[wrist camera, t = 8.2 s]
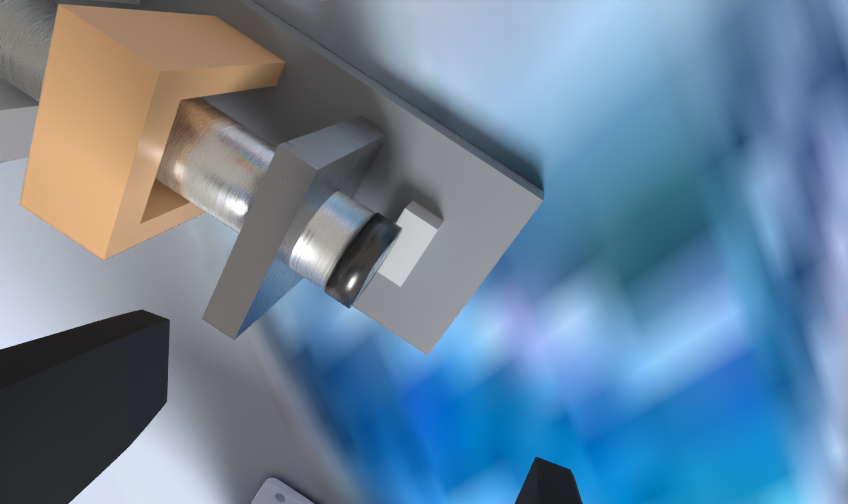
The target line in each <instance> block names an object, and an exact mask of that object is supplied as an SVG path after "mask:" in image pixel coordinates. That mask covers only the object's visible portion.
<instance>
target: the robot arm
mask: <svg viewBox="0 0 848 504" xmlns="http://www.w3.org/2000/svg"><path fill="white" fill-rule="evenodd" d="M169 326H170V320H169V319H166V318H163V317H161V316H158V315H155V314H153V313H150V312H147V311H145V310H138V311H134V312H130V313H126V314H122V315H118V316H114V317H111V318H107V319H104V320H100V321H97V322H93V323H90V324H86V325H83V326H80V327H76V328H73V329H70V330H66V331H63V332H59V333H56V334H53V335H49V336H46V337H42V338H39V339H35V340H32V341H28V342H25V343H22V344H18V345H15V346H11V347H8V348H4V349H1V350H0V504H68V503H70V502H71V501H72V500H73V499H74V498H75V497H76V496H77V495H78V494H79V493H80V492H81V491H82V490H84V489H85V488H86V487H87V486H88V485H89V484H90V483H91V482H92V481H93V480H94V479H95V478H96V477H98V476H99V475H100V474H101V473H102V472H103V471H104V470H105V469H106V468H107V467H108V466H109V465H110V464H111V463H112V462H113V461H115V460H116V459H117V458H118V457H119V456H120V455H121V454H122V453H123V452H124V451H125V450H126V449H127V448H128V447H129V446H130V445H131V444H132V443H133V442H134V440H135V439H136V438H137V437H138V436H139V435H140V434H141V432H142V431H143V430H144V429H145V428H146V427H147V425H148V424H149V423H150V422H151V421H152V419H153V418H154V417H155V416H156V414H157V413H158V412H159V411H160V410H161V408H162V407H163V406H164V405H165V403H166V402H167V386H168V356H169ZM251 504H314V503H313V502H311V501H310V500H308V499H307V498H305V497H304V496H302V495H301V494H299V493H298V492H296V491H295V490H293V489H292V488H290V487H289V486H287V485H286V484H284V483H283V482H281V481H280V480H278V479H276V478H268V479H267V480H266V481H265V482H264V484H263V485H262V487H261V488H260V490H259V491H258V493H257V494H256V496H255V498H254V499H253V501H252V502H251ZM515 504H583V503H582V500H581V497H580V494H579V491H578V488H577V484H576V481H575V478H574V476H573V474H572V472H571V470H570V469H567V468H565V467H562V466H559V465H557V464H554V463H551V462H549V461H546V460H543V459H541V458H538V457H535V460H534V462H533V464H532V466H531V469H530V471H529V473H528V475H527V477H526V480H525V482H524V484H523V486H522V489H521V491H520V493H519V495H518V497H517V500H516V502H515Z"/></svg>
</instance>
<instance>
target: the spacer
mask: <svg viewBox="0 0 848 504" xmlns="http://www.w3.org/2000/svg"><path fill="white" fill-rule="evenodd" d="M285 63H286V62H285V61H283V60H282V59H280V58H278V57H277V56H275V55H274V54H272V53H271V52H269V51H268V50H266V49H265V48H263V47H262V46H260V45H259V44H257V43H256V42H254V41H253V40H251V39H250V38H248V37H247V36H245V35H244V34H242V33H241V32H239V31H238V30H236V29H235V28H233V27H232V26H230V25H229V24H227V23H226V22H224V21H223V20H221V19H220V18H218V17H216V16H210V15H197V14H184V13H171V12H158V11H145V10H132V9H119V8H106V7H93V6H80V5H67V4H58V9H57V14H56V19H55V24H54V30H53V35H52V40H51V45H50V50H49V56H48V61H47V66H46V71H45V76H44V81H43V87H42V92H41V97H40V102H39V107H38V113H37V118H36V123H35V128H34V133H33V138H32V144H31V149H30V154H29V159H28V164H27V170H26V175H25V180H24V185H23V190H22V195H21V201H20V205H21V206H22V207H24V208H25V209H27V210H28V211H30V212H31V213H33V214H34V215H36V216H37V217H39V218H40V219H42V220H43V221H45V222H47V223H48V224H50V225H51V226H53V227H54V228H56V229H57V230H59V231H60V232H62V233H63V234H65V235H66V236H68V237H69V238H71V239H72V240H74V241H75V242H77V243H78V244H80V245H81V246H83V247H84V248H86V249H87V250H89V251H90V252H92V253H93V254H95V255H96V256H98V257H99V258H101V259H102V260H105V259H107V258H109V257H111V256H114V255H116V254H118V253H120V252H122V251H124V250H126V249H128V248H131V247H133V246H135V245H137V244H139V243H141V242H143V241H145V240H148V239H150V238H152V237H154V236H156V235H158V234H160V233H162V232H165V231H167V230H169V229H171V228H173V227H175V226H177V225H179V224H182V223H184V222H186V221H188V220H190V219H192V218H194V217H196V216H198V215H201V214H203V213H205V211H204V210H202V209H201V208H199V207H198V206H196V205H195V204H193V203H192V202H190V201H189V200H187V199H185V198H184V197H182V196H181V195H179V194H178V193H176V192H175V191H173V190H172V189H170V188H169V187H167V186H166V185H164V184H163V183H161V182H160V181H158V180H157V179H155V177H156V173H157V170H158V167H159V164H160V161H161V158H162V155H163V152H164V149H165V146H166V143H167V140H168V137H169V134H170V131H171V128H172V125H173V122H174V119H175V116H176V113H177V110H178V107H179V103H180V100H182V99H189V98H196V97H202V96H209V95H216V94H223V93H229V92H236V91H243V90H250V89H256V88H263V87H270V86H276V85H277V83H278V80H279V78H280V75H281V73H282V70H283V68H284V66H285Z"/></svg>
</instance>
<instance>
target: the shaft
mask: <svg viewBox="0 0 848 504" xmlns="http://www.w3.org/2000/svg"><path fill="white" fill-rule="evenodd" d="M57 9H58V3H56V2H55V1H53V0H0V77H2V78H3V79H5V80H7V81H8V82H10V83H11V84H13V85H14V86H16V87H17V88H19V89H20V90H22V91H23V92H25V93H26V94H28V95H29V96H31V97H32V98H34V99H35V100H37V101H38V102H40V97H41V92H42V87H43V81H44V76H45V71H46V66H47V61H48V56H49V50H50V45H51V40H52V35H53V30H54V24H55V19H56V14H57ZM387 135H388V133H387V132H386V131H384V130H383V129H381V128H379V127H378V126H376V125H375V124H373V123H372V122H370V121H369V120H367V119H366V118H364V117H363V116H361V115H360V116H357V117H355V118H352V119H349V120H346V121H343V122H340V123H338V124H335V125H332V126H329V127H326V128H324V129H321V130H318V131H315V132H312V133H310V134H307V135H304V136H301V137H298V138H295V139H293V140H290V141H287V142H284V143H281V144H279V145H278V147H275V146H274V145H272V144H271V143H269V142H268V141H266V140H265V139H263V138H262V137H260V136H258V135H257V134H255V133H254V132H252V131H251V130H249V129H248V128H246V127H245V126H243V125H242V124H240V123H239V122H237V121H236V120H234V119H233V118H231V117H230V116H228V115H227V114H225V113H224V112H222V111H220V110H219V109H217V108H216V107H214V106H213V105H211V104H210V103H208V102H207V101H205V100H204V99H202V98H201V97H196V98H189V99H182V100H180V103H179V107H178V110H177V113H176V116H175V119H174V122H173V125H172V128H171V131H170V134H169V137H168V140H167V143H166V146H165V149H164V152H163V155H162V158H161V161H160V164H159V167H158V170H157V173H156V177H155V179H157V180H158V181H160V182H161V183H163V184H164V185H166V186H167V187H169V188H170V189H172V190H173V191H175V192H176V193H178V194H179V195H181V196H182V197H184V198H185V199H187V200H189V201H190V202H192V203H193V204H195V205H196V206H198V207H199V208H201V209H202V210H204V211H205V212H207V213H208V214H210V215H211V216H213V217H214V218H216V219H217V220H219V221H220V222H222V223H223V224H225V225H226V226H228V227H229V228H231V229H232V230H234V231H236V232H237V233H239V236H238V238H237V241H236V243H235V245H234V247H233V250H232V252H231V254H230V257H229V259H228V261H227V263H226V266H225V268H224V270H223V273H222V275H221V277H220V279H219V282H218V284H217V286H216V289H215V291H214V293H213V295H212V298H211V300H210V302H209V305H208V307H207V309H206V311H205V314H204V316H203V318H202V319H203V320H205V321H206V322H208V323H209V324H211V325H212V326H214V327H215V328H217V329H218V330H220V331H221V332H223V333H224V334H226V335H227V336H229V337H230V338H232V339H233V340H235V339H236V338H237V337H238V336H239V335H240V334H241V333H242V332H244V331H245V330H246V329H247V328H248V327H249V326H250V325H251V324H252V323H254V322H255V321H256V320H257V319H258V318H259V317H260V316H261V315H263V314H264V313H265V312H266V311H267V310H268V309H269V308H270V307H271V306H273V305H274V304H275V303H276V302H277V301H278V300H279V299H280V298H281V297H283V296H284V295H285V294H286V293H287V292H288V291H289V290H290V289H291V288H293V287H294V286H295V285H296V284H297V283H298V282H299V281H300V280H302V279H303V278H304V277H305V278H307V279H308V280H310V281H311V282H313V283H314V284H316V285H317V286H319V287H320V288H322V289H323V290H325V293H326V294H328V295H329V296H331V297H332V298H334V299H335V300H337V301H338V302H340V303H341V304H343V305H344V306H346V307H347V308H351V307H352V306H353V305H354V303H355V302H356V301H357V300H358V298H359V297H360V296H361V294H362V293H363V292H364V290H365V289H366V287H367V286H368V285H369V283H370V282H371V280H372V279H373V277H374V276H375V274H376V273H377V271H378V270H379V268H380V267H381V265H382V264H383V262H384V261H385V259H386V258H387V256H388V255H389V253H390V251H391V250H392V248H393V246H394V245H395V243H396V241H397V240H398V238H399V236H400V234H401V232H402V229H403V228H402V227H400V226H399V225H397V224H395V223H394V222H392V221H391V220H389V219H388V218H386V217H385V216H383V215H382V214H380V213H379V212H378V213H376V212H374V211H372V210H371V209H369V208H368V207H366V206H365V205H363V204H362V203H360V202H359V201H357V200H356V199H354V196H355V194H356V192H357V191H358V189H359V187H360V185H361V183H362V181H363V180H364V178H365V176H366V174H367V172H368V170H369V168H370V167H371V165H372V163H373V161H374V159H375V157H376V156H377V154H378V152H379V150H380V148H381V146H382V144H383V143H384V141H385V139H386V137H387Z"/></svg>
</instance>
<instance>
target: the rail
mask: <svg viewBox="0 0 848 504" xmlns="http://www.w3.org/2000/svg"><path fill="white" fill-rule="evenodd" d="M53 1H55V2H56V3H58V4H67V5H80V6H93V7H106V8H119V9H132V10H145V11H158V12H171V13H184V14H197V15H210V16H216V17H218V18H220V19H221V20H223V21H224V22H226V23H227V24H229V25H230V26H232V27H233V28H235V29H236V30H238V31H239V32H241V33H242V34H244V35H245V36H247V37H248V38H250V39H251V40H253V41H254V42H256V43H257V44H259V45H260V46H262V47H263V48H265V49H266V50H268V51H269V52H271V53H272V54H274V55H275V56H277V57H278V58H280V59H282V60H283V61H285V62H286V63H285V66H284V68H283V70H282V73H281V75H280V78H279V80H278V83H277V85H276V86H270V87H263V88H256V89H250V90H243V91H236V92H229V93H223V94H216V95H209V96H202V97H201V98H202V99H204V100H205V101H207V102H208V103H210V104H211V105H213V106H214V107H216V108H217V109H219V110H220V111H222V112H224V113H225V114H227V115H228V116H230V117H231V118H233V119H234V120H236V121H237V122H239V123H240V124H242V125H243V126H245V127H246V128H248V129H249V130H251V131H252V132H254V133H255V134H257V135H258V136H260V137H262V138H263V139H265V140H266V141H268V142H269V143H271V144H272V145H274V146H275V147H278V145H279V144H281V143H284V142H287V141H290V140H293V139H295V138H298V137H301V136H304V135H307V134H310V133H312V132H315V131H318V130H321V129H324V128H326V127H329V126H332V125H335V124H338V123H340V122H343V121H346V120H349V119H352V118H355V117H357V116H360V115H361V116H363V117H364V118H366V119H367V120H369V121H370V122H372V123H373V124H375V125H376V126H378V127H379V128H381V129H383V130H384V131H386V132H387V133H388V135H387V137H386V139H385V141H384V143H383V144H382V146H381V148H380V150H379V152H378V154H377V156H376V157H375V159H374V161H373V163H372V165H371V167H370V168H369V170H368V172H367V174H366V176H365V178H364V180H363V181H362V183H361V185H360V187H359V189H358V191H357V192H356V194H355V196H354V199H356V200H357V201H359V202H360V203H362V204H363V205H365V206H366V207H368V208H369V209H371V210H372V211H374V212H376V213H378V212H379V213H380V214H382V215H383V216H385V217H386V218H388V219H389V220H391V221H392V222H394V223H395V224H397V225H399V226H400V227H402V228H403V229H402V232H401V234H400V236H399V238H398V240H397V241H396V243H395V245H394V246H393V248H392V250H391V251H390V253H389V255H388V256H387V258H386V259H385V261H384V262H383V264H382V265H381V267H380V268H379V270H378V271H377V273H376V274H375V276H374V277H373V279H372V280H371V282H370V283H369V285H368V286H367V287H366V289H365V290H364V292H363V293H362V294H361V296H360V297H359V298H358V300H357V301H356V302H355V303H354V305H353V307H355V308H356V309H358V310H359V311H361V312H362V313H364V314H365V315H367V316H368V317H370V318H371V319H373V320H374V321H376V322H377V323H379V324H380V325H382V326H383V327H385V328H387V329H388V330H390V331H391V332H393V333H394V334H396V335H397V336H399V337H400V338H402V339H403V340H405V341H406V342H408V343H409V344H411V345H412V346H414V347H415V348H417V349H418V350H420V351H421V352H423V353H424V354H426V355H427V356H428V354H429V353H430V352H431V350H432V349H433V348H434V346H435V345H436V344H437V342H438V341H439V340H440V338H441V337H442V335H443V334H444V333H445V331H446V330H447V329H448V327H449V326H450V325H451V323H452V322H453V321H454V319H455V318H456V317H457V315H458V314H459V313H460V311H461V310H462V309H463V307H464V306H465V305H466V303H467V302H468V301H469V299H470V298H471V297H472V295H473V294H474V293H475V291H476V290H477V288H478V287H479V286H480V284H481V283H482V282H483V280H484V279H485V278H486V276H487V275H488V274H489V272H490V271H491V270H492V268H493V267H494V266H495V264H496V263H497V262H498V260H499V259H500V258H501V256H502V255H503V254H504V252H505V251H506V250H507V248H508V247H509V246H510V244H511V243H512V241H513V240H514V239H515V237H516V236H517V235H518V233H519V232H520V231H521V229H522V228H523V227H524V225H525V224H526V223H527V221H528V220H529V219H530V217H531V216H532V215H533V213H534V212H535V211H536V209H537V208H538V207H539V205H540V204H541V203H542V201H543V197H544V191H542V190H541V189H539V188H538V187H536V186H535V185H533V184H532V183H530V182H528V181H527V180H525V179H524V178H522V177H521V176H519V175H518V174H516V173H515V172H513V171H512V170H510V169H509V168H507V167H506V166H504V165H503V164H501V163H500V162H498V161H496V160H495V159H493V158H492V157H490V156H489V155H487V154H486V153H484V152H483V151H481V150H480V149H478V148H477V147H475V146H474V145H472V144H471V143H469V142H467V141H466V140H464V139H463V138H461V137H460V136H458V135H457V134H455V133H454V132H452V131H451V130H449V129H448V128H446V127H445V126H443V125H442V124H440V123H439V122H437V121H435V120H434V119H432V118H431V117H429V116H428V115H426V114H425V113H423V112H422V111H420V110H419V109H417V108H416V107H414V106H413V105H411V104H410V103H408V102H407V101H405V100H403V99H402V98H400V97H399V96H397V95H396V94H394V93H393V92H391V91H390V90H388V89H387V88H385V87H384V86H382V85H381V84H379V83H378V82H376V81H375V80H373V79H371V78H370V77H368V76H367V75H365V74H364V73H362V72H361V71H359V70H358V69H356V68H355V67H353V66H352V65H350V64H349V63H347V62H346V61H344V60H343V59H341V58H339V57H338V56H336V55H335V54H333V53H332V52H330V51H329V50H327V49H326V48H324V47H323V46H321V45H320V44H318V43H317V42H315V41H314V40H312V39H310V38H309V37H307V36H306V35H304V34H303V33H301V32H300V31H298V30H297V29H295V28H294V27H292V26H291V25H289V24H288V23H286V22H285V21H283V20H282V19H280V18H278V17H277V16H275V15H274V14H272V13H271V12H269V11H268V10H266V9H265V8H263V7H262V6H260V5H259V4H257V3H256V2H254V1H253V0H53ZM38 107H39V102H38V101H37V100H35V99H34V98H32V97H31V96H29V95H28V94H26V93H25V92H23V91H22V90H20V89H19V88H17V87H16V86H14V85H13V84H11V83H10V82H8V81H7V80H5V79H3V78H2V77H0V163H1V162H6V161H10V160H15V159H20V158H25V157H29V154H30V149H31V144H32V138H33V133H34V128H35V123H36V118H37V113H38Z"/></svg>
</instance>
